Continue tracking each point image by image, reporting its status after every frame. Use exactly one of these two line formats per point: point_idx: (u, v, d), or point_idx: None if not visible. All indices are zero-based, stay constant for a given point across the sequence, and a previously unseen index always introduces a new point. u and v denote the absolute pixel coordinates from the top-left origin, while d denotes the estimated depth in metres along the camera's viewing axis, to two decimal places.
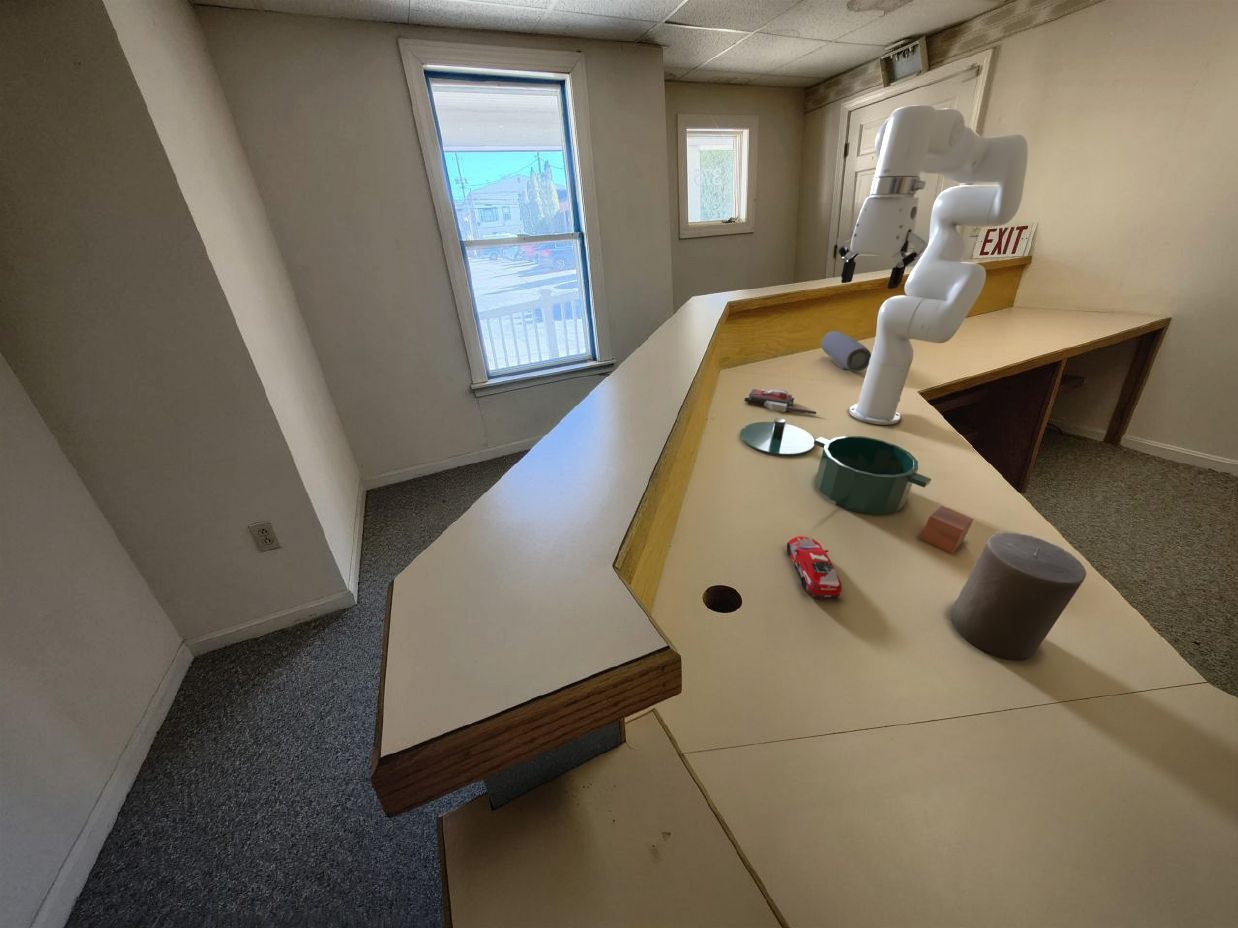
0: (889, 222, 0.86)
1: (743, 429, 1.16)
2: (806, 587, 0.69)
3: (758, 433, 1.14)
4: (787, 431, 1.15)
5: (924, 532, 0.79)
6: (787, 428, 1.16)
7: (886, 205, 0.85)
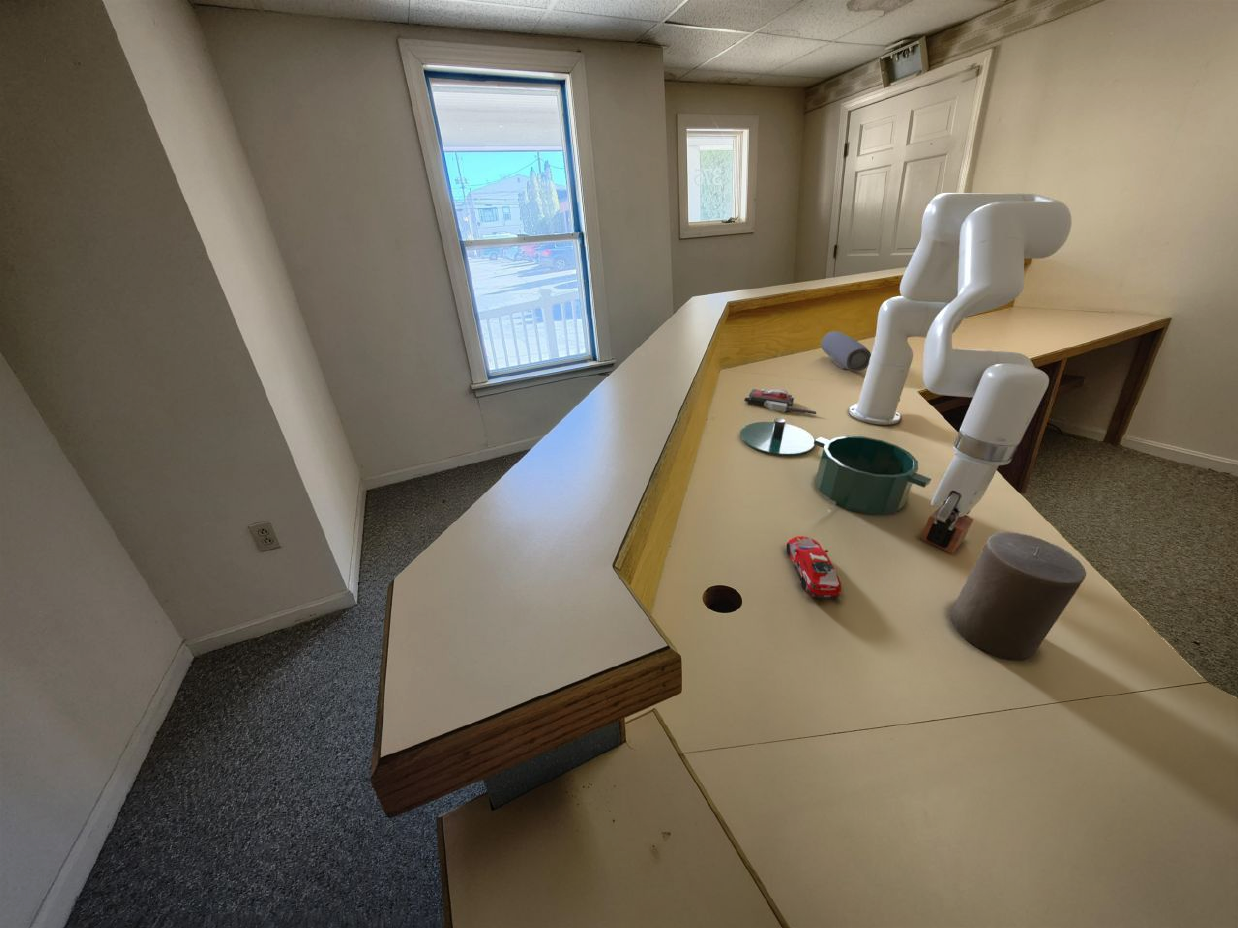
0: (992, 477, 0.72)
1: (743, 429, 1.16)
2: (806, 587, 0.69)
3: (758, 433, 1.14)
4: (787, 431, 1.15)
5: (924, 532, 0.79)
6: (787, 428, 1.16)
7: (998, 465, 0.70)
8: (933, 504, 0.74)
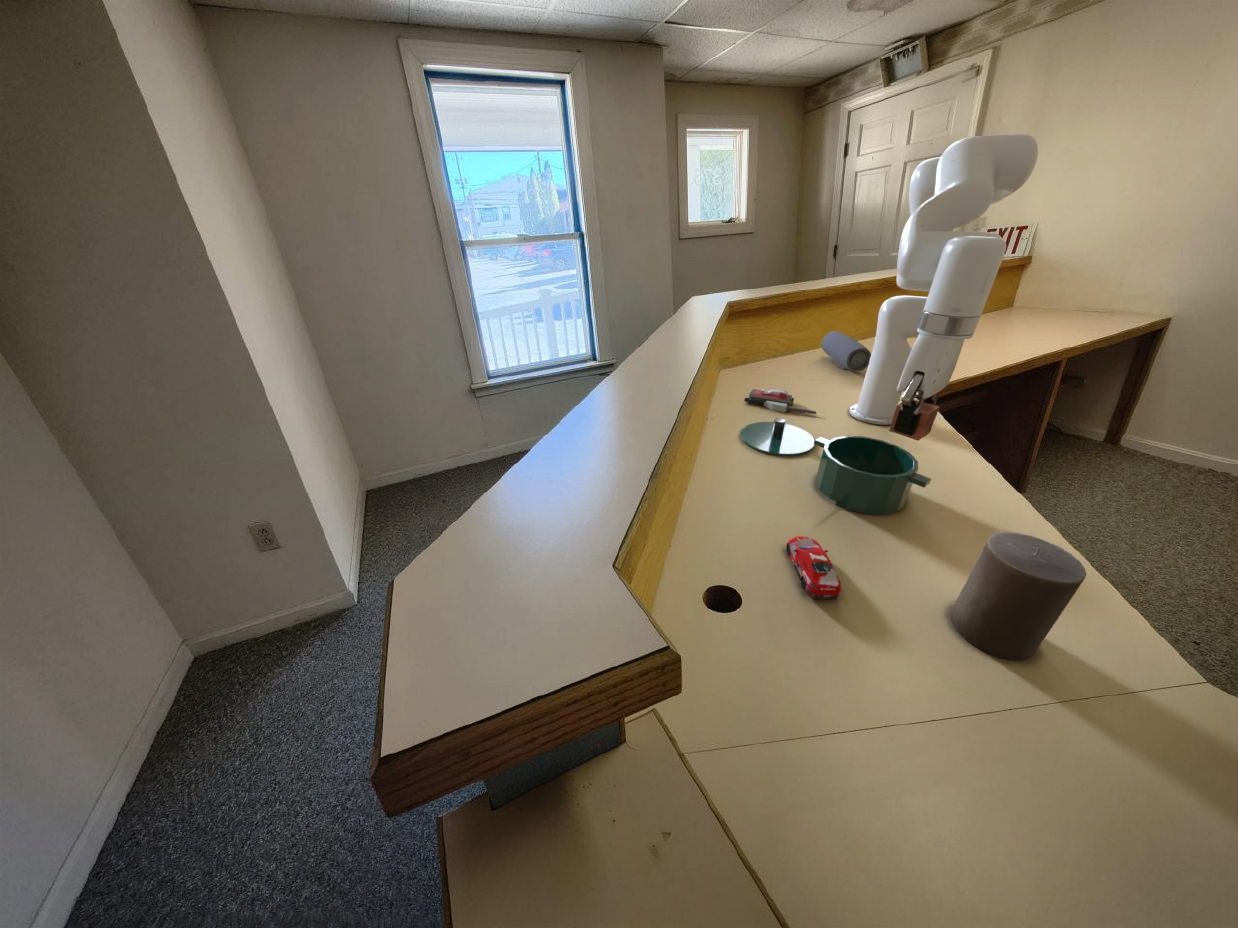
0: (956, 359, 0.74)
1: (743, 429, 1.16)
2: (805, 587, 0.69)
3: (758, 433, 1.14)
4: (787, 431, 1.15)
5: (892, 423, 0.80)
6: (787, 428, 1.16)
7: (960, 343, 0.71)
8: (899, 389, 0.75)
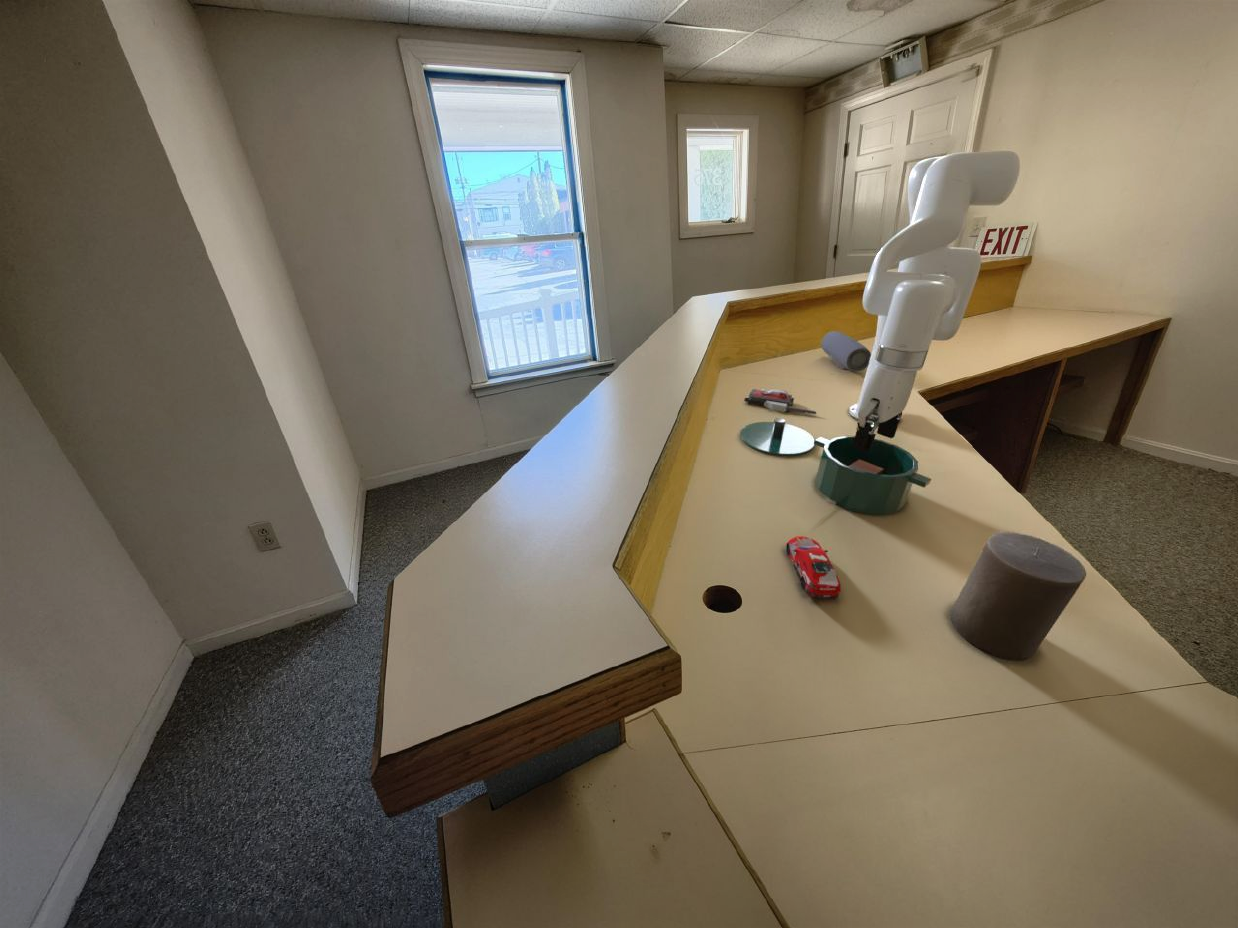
0: (909, 387, 0.81)
1: (743, 429, 1.16)
2: (805, 587, 0.69)
3: (758, 433, 1.14)
4: (787, 431, 1.15)
5: None
6: (787, 428, 1.16)
7: (912, 374, 0.79)
8: (858, 413, 0.83)
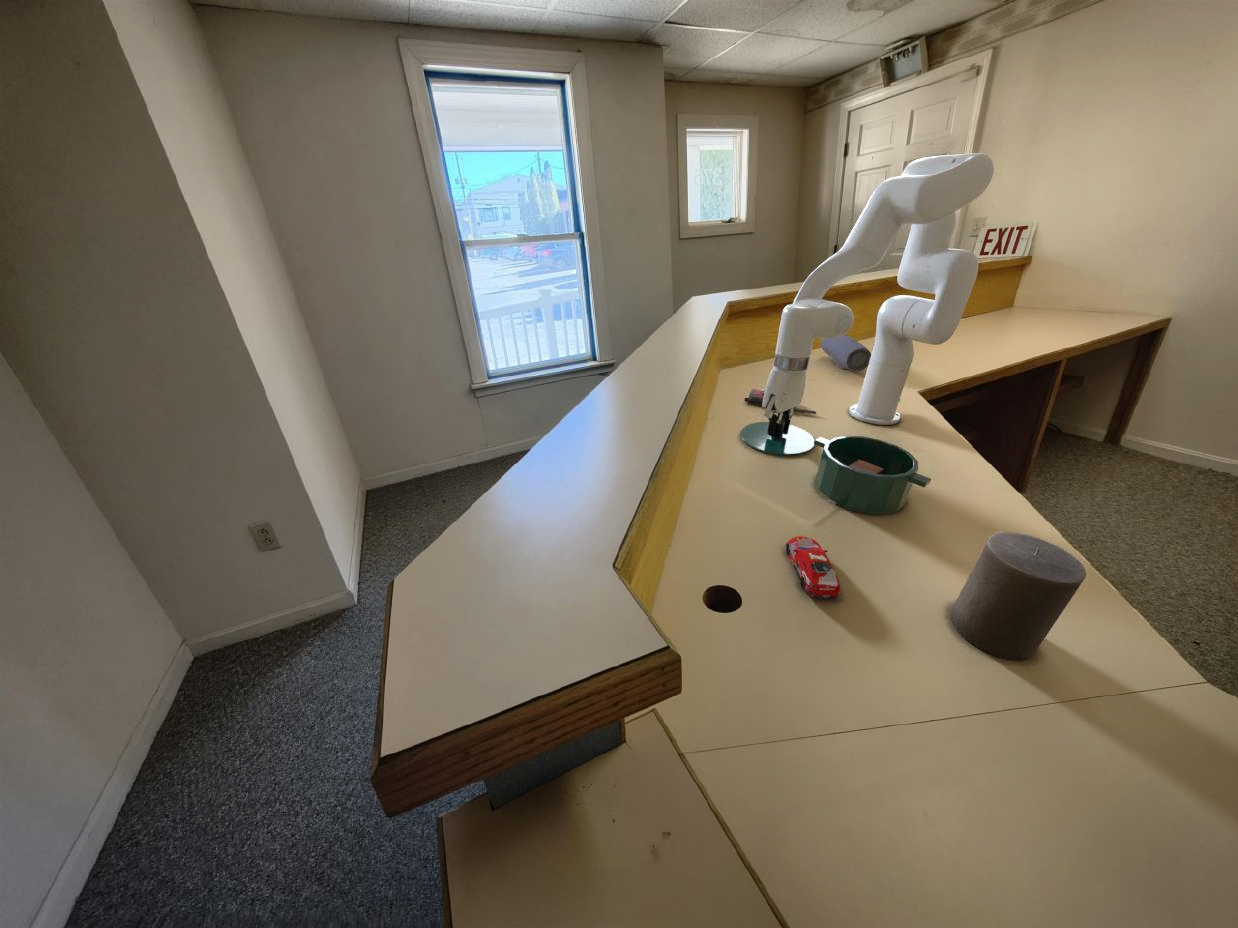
0: (800, 385, 1.05)
1: (743, 429, 1.16)
2: (805, 587, 0.69)
3: (758, 433, 1.14)
4: None
5: None
6: None
7: (800, 375, 1.03)
8: (762, 406, 1.07)
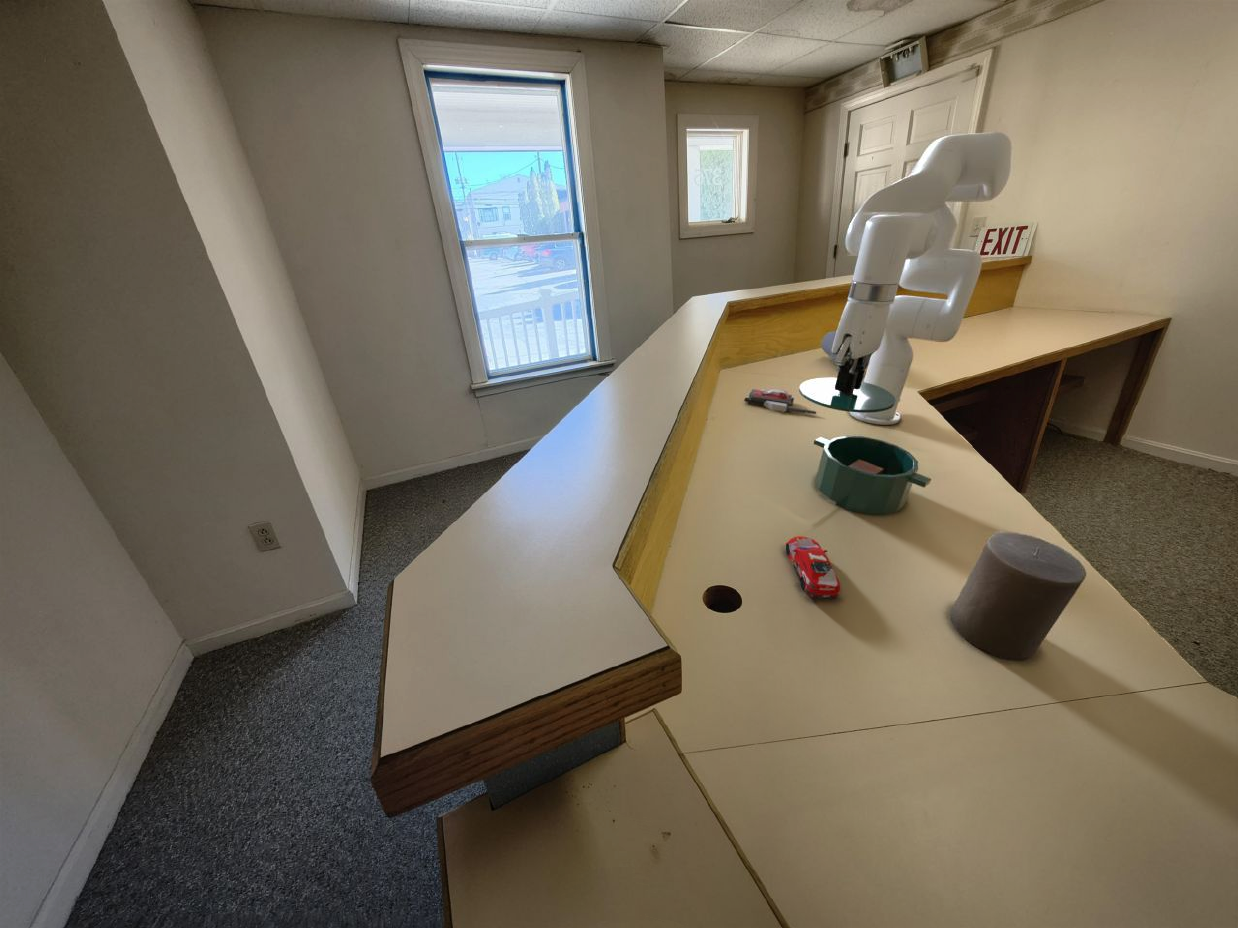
0: (882, 324, 0.84)
1: (802, 385, 0.95)
2: (805, 587, 0.69)
3: (821, 388, 0.93)
4: None
5: None
6: None
7: (883, 309, 0.81)
8: (832, 351, 0.85)
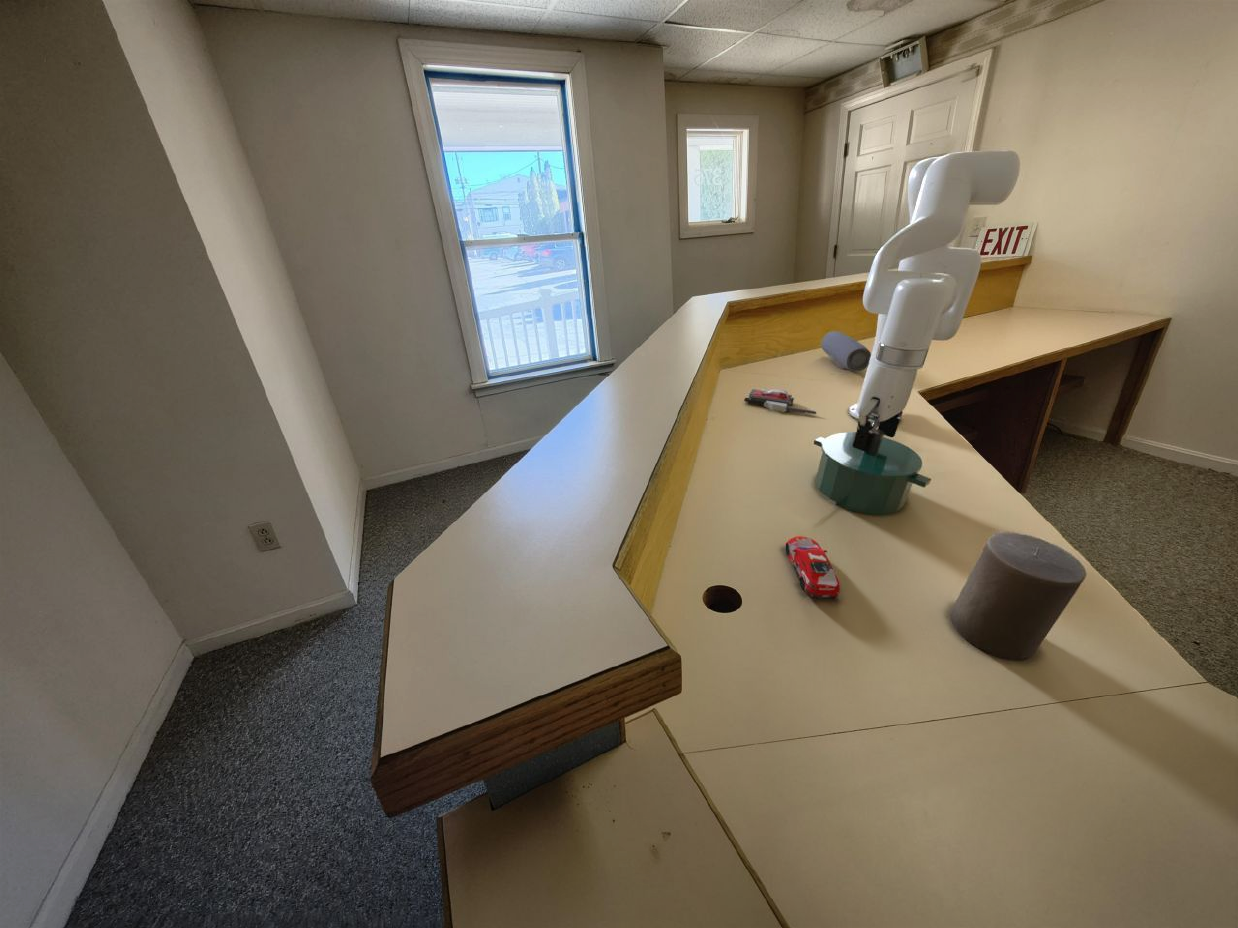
0: (910, 386, 0.81)
1: (824, 442, 0.92)
2: (804, 587, 0.69)
3: (845, 447, 0.91)
4: (880, 445, 0.91)
5: None
6: None
7: (912, 372, 0.79)
8: (859, 412, 0.83)
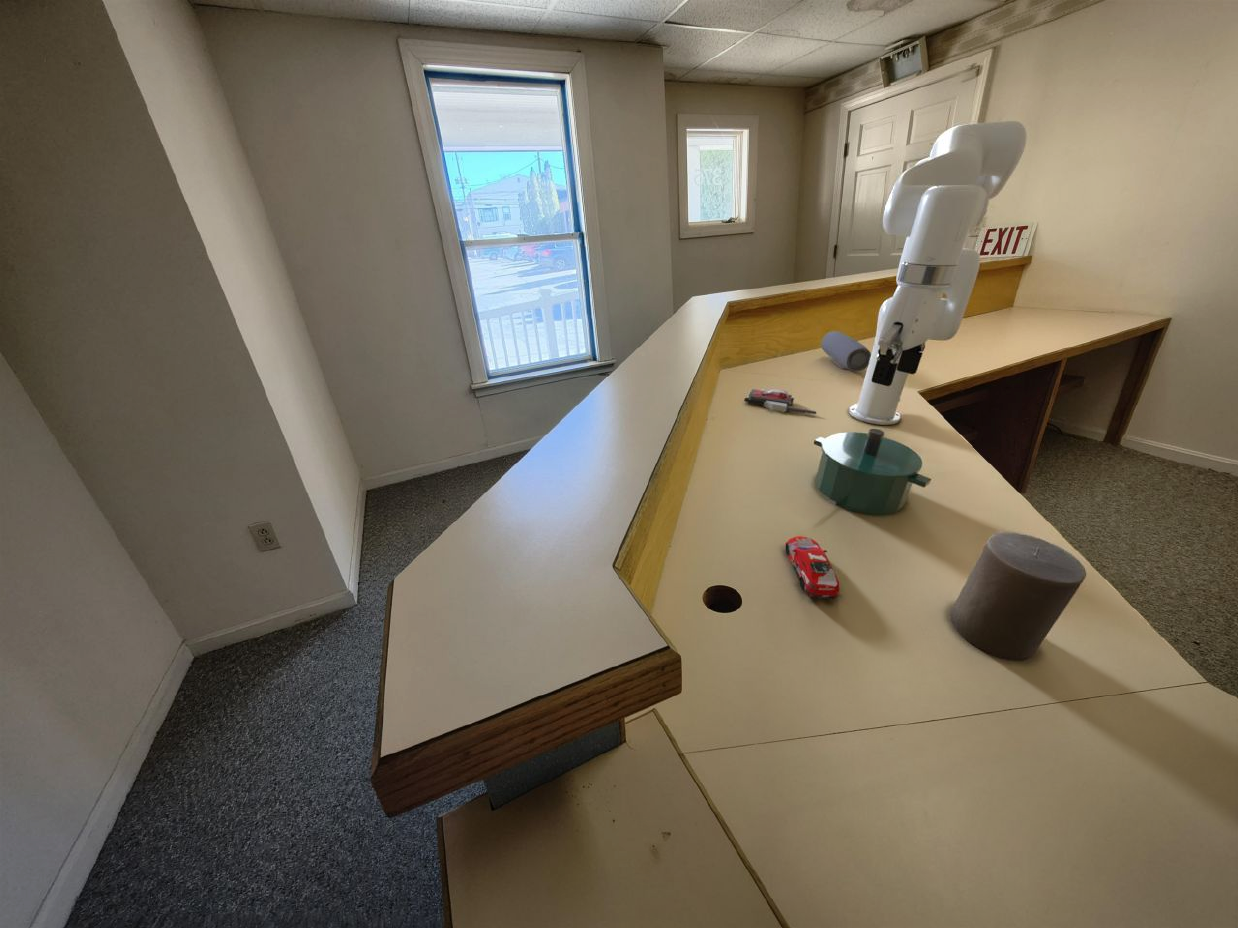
0: (935, 311, 0.75)
1: (824, 442, 0.92)
2: (804, 587, 0.69)
3: (845, 447, 0.91)
4: (880, 445, 0.91)
5: None
6: None
7: (938, 294, 0.73)
8: (879, 342, 0.77)
